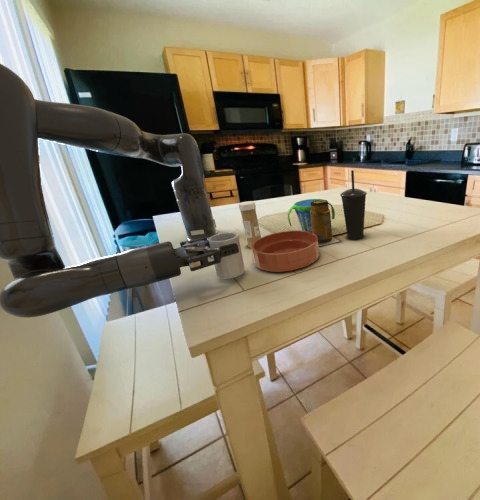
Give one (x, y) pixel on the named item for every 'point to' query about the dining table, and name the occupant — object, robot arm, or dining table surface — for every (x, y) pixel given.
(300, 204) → the snack cup
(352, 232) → the drinking cup
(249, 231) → the sprinkles bottle
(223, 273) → the white cup
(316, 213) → the condiment
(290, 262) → the bowl
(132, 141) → the robot arm
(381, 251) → the dining table surface
